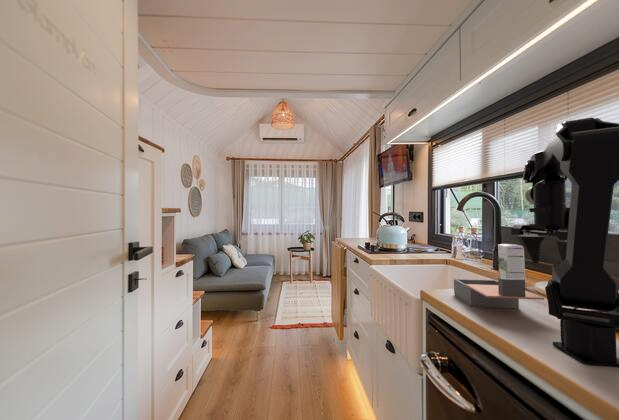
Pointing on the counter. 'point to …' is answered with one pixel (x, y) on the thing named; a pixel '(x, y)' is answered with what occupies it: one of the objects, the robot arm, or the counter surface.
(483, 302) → the grey open tray
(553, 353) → the counter surface
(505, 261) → the syrup box
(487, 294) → the lid
